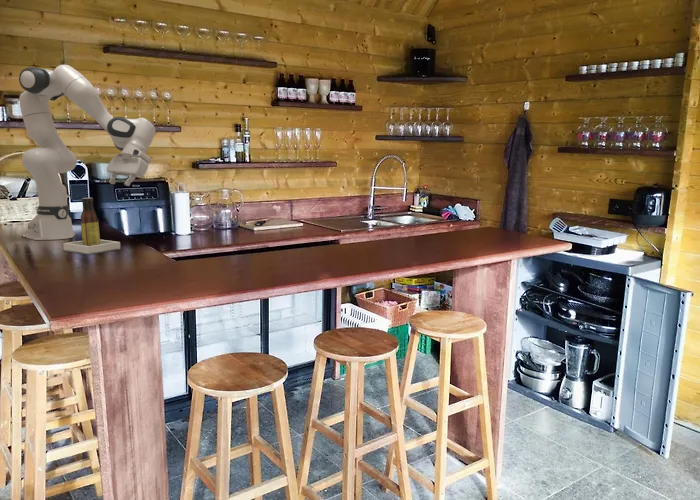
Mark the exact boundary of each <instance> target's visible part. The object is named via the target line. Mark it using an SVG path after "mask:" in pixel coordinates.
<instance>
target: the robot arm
mask: <svg viewBox="0 0 700 500" xmlns="http://www.w3.org/2000/svg"><path fill="white" fill-rule="evenodd" d="M18 76H19V77H18V82H19V85H20V87H21V88H22V89H23V90H24V91H23V92H22V93H21V94H20V95H19V106H20V113H21V116H22V119H23V120H22V121H23V123H24V127H25V130H26V133H27V136H28V138H29V139H30V140H32V141H33V142H35V144H36V145H37V146H38V147H35V148H31V149H28V150H25V152H24V153H23V155H22V158H21V162H22V166H23V168H24V169H25V170H26V171H27V172H29V173H30V175H31V177H32V178H33V180H34V183H35V185H36V190H37V196H38V197H37V198H38V206H37V207H35V210H36V215H35V216H34V217H33V218H32V219H31V220H30V221H29V222H28V224H27V233H25V234H24V233H23V234H21V237H22V236H23V237H22V238H25V237H26V238H25V239H29V240H34V241H43V240H45V241H50V240H51V241H53V240H55V241H56V240H64V239H71V238H74V237H76V233H75V232H74V228H73V223H72V218H71V217H70V215H69V213H70V208H69V205H68V196H67V195H68V194H67V193H68V191H67V187H66V185H64V184H63V183H62V182H61V181H60V178H59V176H58V174H65V173H68V172H70V171H73V170H74V169H75V168H76V167H77V163H78V159H77V156H76V154H75V152H73V151H72V150H71V149H69V147H67V145H66V144H65V143H64V142H63V140H62V138H61V137H60V135H59V134H58V131H57V129H56V126H55V123H54V119H53V117H52V113H51V110H50V105H49V102H50V101H53V102H55V101H56V100H57V99H58V98H59V99H60V97H63V96H66V98H67V99H68V100H70V101H71V102H72V103H73V104H75V105H76V106H77V107H79V108H80V109H81V110H82V111H83V112H84V113H86V114H87V115H88V116H90V117H91V118H92V119H94V120H95V122H97V124H99V126H100V127H101V128H103V130H104V131H105V132H106V133H107V134H109V137H110V138H111V139H112V140H111V141H112V142H113V145H114V147H115V148H116V149H117V150H119V151H121V152H120V153H118V154H117V155H115V156H113V157H112V158H111V160H110V161H109V164H108V165H107V167H106V172H108V173H109V174H110V179H109V183H110V184H111V185H115V184H116V182H117V180H116V178H117V177H118V176H121V177H122V176H123V177H128V178H127V179H125V180H124V182H123V185H124V186H127V187H130V186H131V184H132V183H133V182H134V180H135V179H136V178H139V179H140V178H143V177H144V176H145V175H146V173H147V171H148V169H149V165H150V163H151V162H152V161H153V160H152V158H151V157H150V156H148V154H147V151H148V148H149V147H150V146H151V145H152V142H153V140H154V137H155V134H156V127H155V125H154V123H152V121H150V120H149V119H147V118H145V117H138V118H125V117H122V116H115V117H114V116H113V115H112V114H110V113H109V111H108V110H107V108H106V107H105V104H103V101H102V99H101V97H100V95H99V93H98V91H97V89H96V88H95V87H94V86H93V84H92V83H91V82H90V80H88V79H87V78H86V77H85V76H84V75H83V74H82V73H80V72H79V71H78V70H77V69H75V68H74V67H72V66H71V65H68V64H60V65H58V66H56V67H55V68H54V70H51V69H48V68H40V67H34V66H30V67H29V66H27V67H25V68H23V69H22V70H21V72H19V75H18Z"/></svg>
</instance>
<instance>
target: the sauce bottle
mask: <svg viewBox="0 0 700 500" xmlns="http://www.w3.org/2000/svg"><path fill="white" fill-rule="evenodd" d="M81 203H82V213H81V214H80V229H81V239H82V240H81V241H83V245H85V246H93V245H100V240H101V238H100V237H101V235H100V226H99V219H98V216H97V213H96V211H95V207H94V198H93V197H82V198H81Z"/></svg>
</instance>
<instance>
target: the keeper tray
mask: <svg viewBox="0 0 700 500" xmlns="http://www.w3.org/2000/svg"><path fill="white" fill-rule="evenodd" d="M62 245H63V251H64V252H69V253H75V254H81V255H89V256H90V255H94V254H101V253H108V252H115V251H120V250H121V241H115V240H114V241H113V240H107V239H106V240H105V239H100V245H93V246H85V245H83V241H82V240H77V241H69V242H64V243H62Z"/></svg>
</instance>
